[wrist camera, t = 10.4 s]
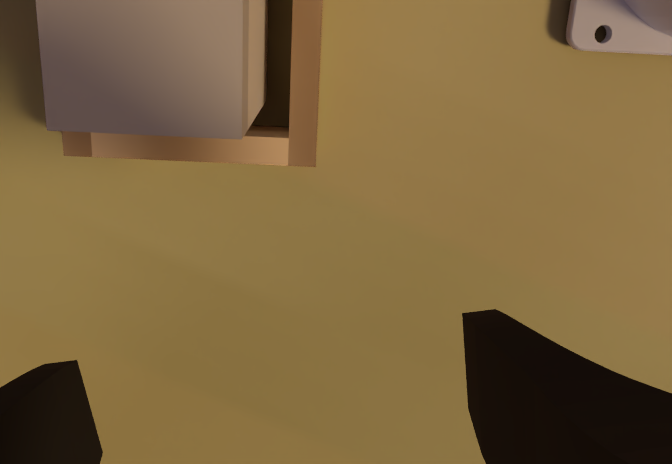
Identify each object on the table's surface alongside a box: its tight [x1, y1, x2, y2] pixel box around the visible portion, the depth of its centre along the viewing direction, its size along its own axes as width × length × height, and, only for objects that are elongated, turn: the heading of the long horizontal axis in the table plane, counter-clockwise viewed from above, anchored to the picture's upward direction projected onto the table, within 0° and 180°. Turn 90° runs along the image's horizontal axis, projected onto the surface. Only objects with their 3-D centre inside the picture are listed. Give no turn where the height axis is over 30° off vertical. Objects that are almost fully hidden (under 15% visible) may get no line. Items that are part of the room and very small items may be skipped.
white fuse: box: [36, 0, 268, 140], centre depth 16 cm, size 4×4×7 cm
